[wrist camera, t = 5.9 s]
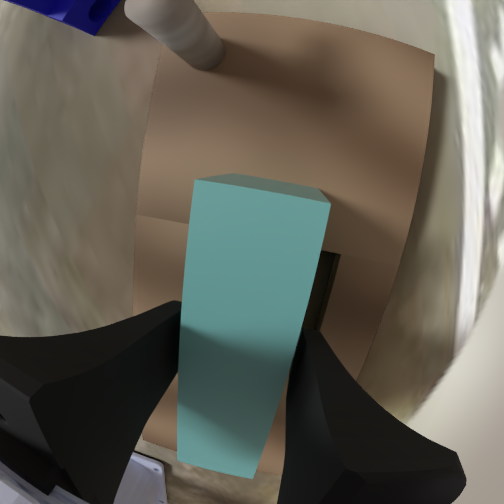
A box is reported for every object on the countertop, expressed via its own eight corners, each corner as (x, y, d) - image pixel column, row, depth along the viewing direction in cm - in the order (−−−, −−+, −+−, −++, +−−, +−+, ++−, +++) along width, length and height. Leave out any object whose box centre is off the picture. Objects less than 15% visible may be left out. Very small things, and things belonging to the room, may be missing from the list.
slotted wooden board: (305, 464, 17) (301, 539, 11) (149, 428, 18) (113, 493, 12) (424, 51, 10) (494, -5, 4) (182, 13, 11) (117, -54, 5)
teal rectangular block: (265, 409, 14) (252, 478, 10) (204, 395, 15) (177, 460, 10) (318, 188, 11) (331, 203, 7) (233, 172, 11) (194, 179, 7)
